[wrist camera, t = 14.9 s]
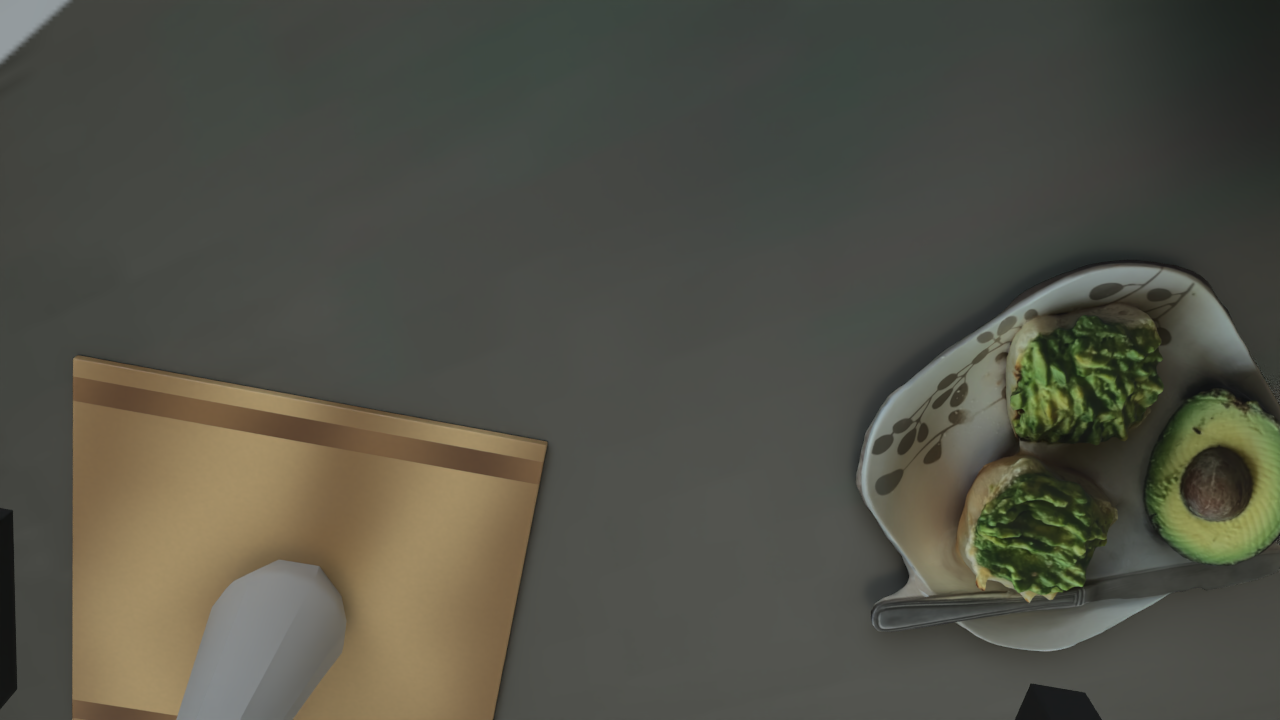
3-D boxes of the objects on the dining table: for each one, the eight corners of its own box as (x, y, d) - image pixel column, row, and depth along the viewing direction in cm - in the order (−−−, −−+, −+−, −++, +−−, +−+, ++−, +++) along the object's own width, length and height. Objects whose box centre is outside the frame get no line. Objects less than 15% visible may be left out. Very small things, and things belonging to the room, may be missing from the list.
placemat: (547, 441, 44) (547, 445, 43) (479, 786, 51) (478, 793, 50) (77, 354, 42) (72, 358, 42) (76, 725, 49) (71, 731, 49)
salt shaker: (242, 649, 47) (109, 887, 35) (220, 544, 45) (71, 759, 33) (366, 646, 47) (276, 883, 35) (350, 542, 45) (249, 755, 33)
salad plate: (948, 713, 49) (979, 784, 45) (750, 451, 44) (763, 504, 40) (1323, 512, 45) (1395, 570, 41) (1156, 196, 40) (1220, 224, 36)
